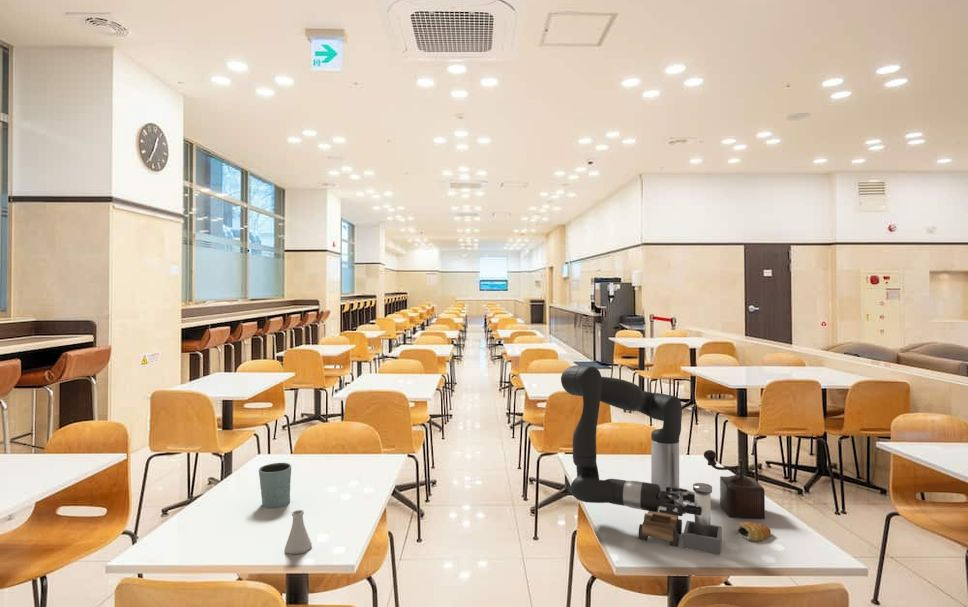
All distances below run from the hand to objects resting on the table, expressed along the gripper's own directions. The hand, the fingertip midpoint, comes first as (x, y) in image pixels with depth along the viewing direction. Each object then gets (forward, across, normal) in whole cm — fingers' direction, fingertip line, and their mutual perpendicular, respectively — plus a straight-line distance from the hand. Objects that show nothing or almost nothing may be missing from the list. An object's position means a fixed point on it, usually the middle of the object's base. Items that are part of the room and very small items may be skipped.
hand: (702, 505), depth 144 cm
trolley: (-11, +1, +11) cm, 15 cm away
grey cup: (-129, -30, +11) cm, 133 cm away
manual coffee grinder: (+7, +28, +11) cm, 31 cm away
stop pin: (0, 0, +10) cm, 10 cm away
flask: (-98, -50, +11) cm, 111 cm away
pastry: (+12, +12, +11) cm, 20 cm away
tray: (0, 0, +11) cm, 11 cm away
